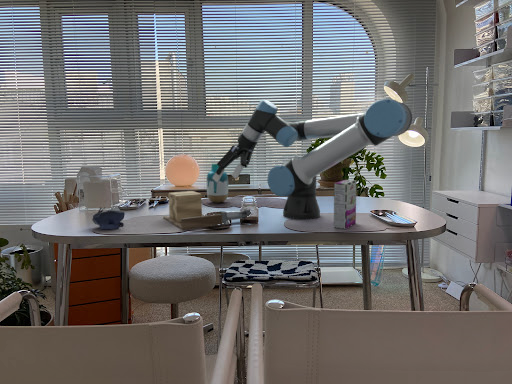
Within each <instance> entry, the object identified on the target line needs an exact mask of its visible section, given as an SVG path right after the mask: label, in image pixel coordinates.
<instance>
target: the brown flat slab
mask: <svg viewBox="0 0 512 384" xmlns="http://www.w3.org/2000/svg"><path fill="white" fill-rule="evenodd" d="M163 219H164V220H166V221H168V222H169V223H170V224H172V225H173V226H175V227H177V228H178V229H180V230H182V231H184V230H186V231H187V230H188V231H191V230H195V229H196V230H199V229H203V228H204V229H207V228H208V227H209V226H210V225H217V224H222V219H221V214H220V213H217V214H211V215H204V214H203V213H202V216H199V217H190V218H181V222H177V221H175V220H173V219H172V218H170V217H169V216H167V215H165V216H163ZM222 225H223V224H222ZM210 227H211V226H210ZM210 227H209V228H210Z"/></svg>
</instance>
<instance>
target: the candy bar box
mask: <svg viewBox="0 0 512 384" xmlns="http://www.w3.org/2000/svg"><path fill="white" fill-rule="evenodd" d="M333 188H334V189H333V228H334V227H336V228H335V229H340V228H344V229H345V230H346V229H349V228H350V227H352V226H354V225H355V224H356V222H357V220H356V218H357V180H354V179H344V180H340V181H338V182H335V183H333ZM351 225H352V226H351ZM348 227H349V228H348ZM344 229H343V230H344Z"/></svg>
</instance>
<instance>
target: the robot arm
mask: <svg viewBox="0 0 512 384" xmlns="http://www.w3.org/2000/svg"><path fill="white" fill-rule="evenodd" d="M278 109H279V108H278V107H277V106H276V104H274V103H273V102H271V101H270V100H267V99H261V100H260V101H259V102H258V105H257V106H256V107H255V109H254V111H253V113H252V114H251V116H250V117H249V119H248V121H247V123H245V126H244V128H243V129H242V132H241V133H240V134H239V135H238V138H237V143H238V144H237V145H236V146H235V145H232V146H231V147H230V149H228V151H227V152H226V154H224V155H223V157H221V158H220V160H219V161H217V163H216V164H217V165H218V166H219V168H218V169H217V171H216V173H215V174H214V176H213V179H214V180H215V181H216V182H218V181H219V179H220V178H221V176H222V174H223V173H224V172H226V168H227V167H228V166H229V165H230V164H232V163H233V162H234V161H235V160H238V159H239V158H240V159H239V160H240V161H239V162H240V163H239V162H238V164H237V165H236V166H235V168H234V170H233V172H232V174H231V176H232V177H233V178H234V179H235V180H237V179H238V178H239V176H240V174H241V173H242V171H243V169H244V168H245V169H247V168H248V166H249V165H250V162H251V158H252V155H253V152H254V151H255V147H256V146H257V144H258V142H259V141H260V140H261V138H262V137H263V135H264V133H265V132H266V133H267V134H268V135H270V137H272V139H274V140H275V142H277V144H280V145H282V146H283V147H284V148H289V147H290V146H292V145H293V144H294V143H295V142H302V141H308V140H317V139H327V138H329V139H328V140H327V141H324V142H323V143H321V144H320V145H318V146H317V147H315V148H313V149H312V150H311V151H309V152H307V153H305V154H304V155H302V156H301V157H299V156H293V157H292V158H290V159H288V160H286V162H285V161H284V163H282V164H277V165H275V166H272V168H271V169H270V170H269V172H268V174H267V185H268V188H269V190H270V191H271V192H272V193H273V194H274V195H275V196H278V197H286V198H287V199H286V200H285V203H284V207H283V210H282V211H283V212H282V213H283V214H282V216H283V218H286V219H290V220H314V218H315V219H319V218H320V217H321V210H320V206H319V204H318V200H317V176H318V175H320V174H321V173H323V172H325V171H326V170H329V169H330V168H332V167H334V166H335V165H337V164H339V163H340V162H342V161H344V160H345V159H347V158H349V157H351V156H352V155H354V154H356V153H358V152H359V151H361V150H363V149H364V148H366V147H368V146H375V147H377V146H379V145H380V144H382V143H384V142H385V141H388V140H389V139H391V138H392V137H398V136H400V135H403V134H404V133H406V132H407V131H408V130H409V128H410V127H411V125H412V122H413V113H412V110H411V109H410V107H409V106H408V105H406V104H405V103H403V102H401V101H398V100H396V99H393V98H383V99H379V100H377V101H375V102H373V103H372V104H370V106H369V107H368V108H367V109H366V111H364V112H361V113H353V114H352V113H351V114H346V115H339V116H331V117H330V116H329V117H324V118H317V119H308V120H300V121H285V120H284V119H282V118H281V117H280V116H279V115H278V114H277V113H278Z"/></svg>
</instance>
